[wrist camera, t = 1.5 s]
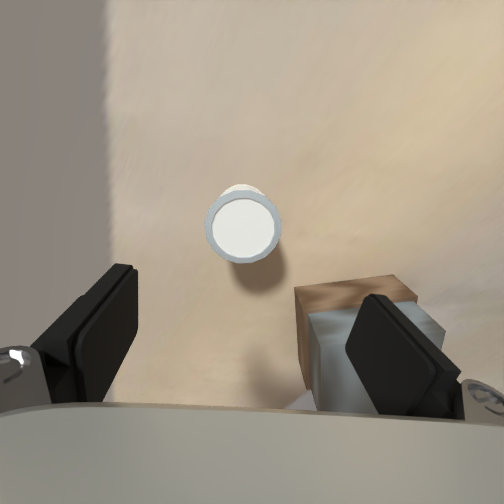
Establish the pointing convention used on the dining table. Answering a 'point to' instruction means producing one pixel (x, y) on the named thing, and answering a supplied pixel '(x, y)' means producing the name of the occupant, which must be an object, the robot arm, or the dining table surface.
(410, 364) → the robot arm
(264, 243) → the white grey-rimmed cylinder
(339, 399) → the grey and wood block
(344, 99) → the dining table surface
